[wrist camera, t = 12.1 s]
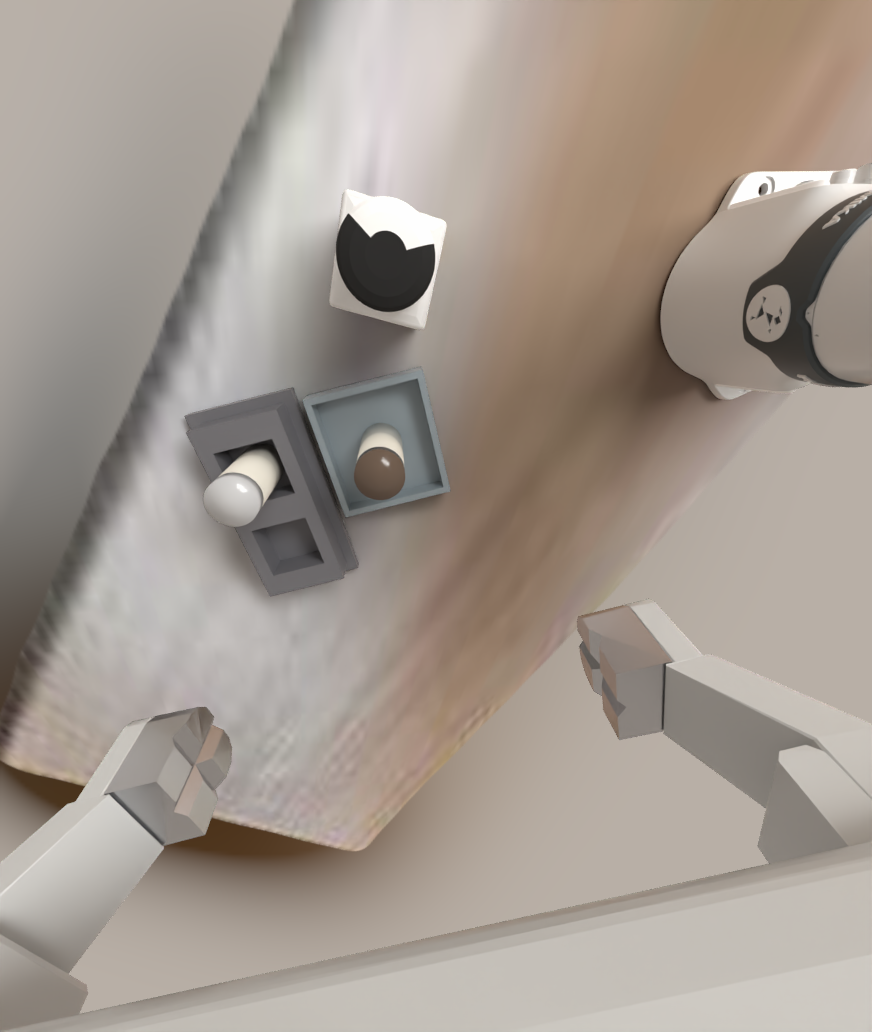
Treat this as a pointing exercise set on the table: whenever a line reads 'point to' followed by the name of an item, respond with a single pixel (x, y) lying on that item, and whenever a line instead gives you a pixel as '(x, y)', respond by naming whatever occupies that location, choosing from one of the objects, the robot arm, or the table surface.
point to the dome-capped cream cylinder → (244, 486)
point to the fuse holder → (279, 491)
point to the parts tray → (367, 403)
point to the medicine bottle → (385, 259)
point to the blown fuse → (380, 462)
